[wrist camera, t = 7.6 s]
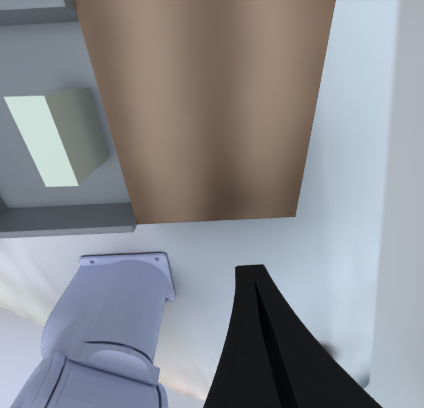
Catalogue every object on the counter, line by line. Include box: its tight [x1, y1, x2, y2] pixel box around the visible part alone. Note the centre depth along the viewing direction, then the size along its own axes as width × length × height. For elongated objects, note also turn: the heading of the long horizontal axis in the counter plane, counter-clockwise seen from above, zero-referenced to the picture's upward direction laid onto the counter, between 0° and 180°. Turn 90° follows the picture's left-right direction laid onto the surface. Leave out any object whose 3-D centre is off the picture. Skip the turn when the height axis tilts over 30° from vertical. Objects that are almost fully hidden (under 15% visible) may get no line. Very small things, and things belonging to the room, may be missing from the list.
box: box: [0, 0, 137, 238], centre depth 15 cm, size 13×14×4 cm
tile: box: [4, 88, 110, 187], centre depth 14 cm, size 5×5×2 cm
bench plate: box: [73, 0, 336, 224], centre depth 16 cm, size 13×14×3 cm
